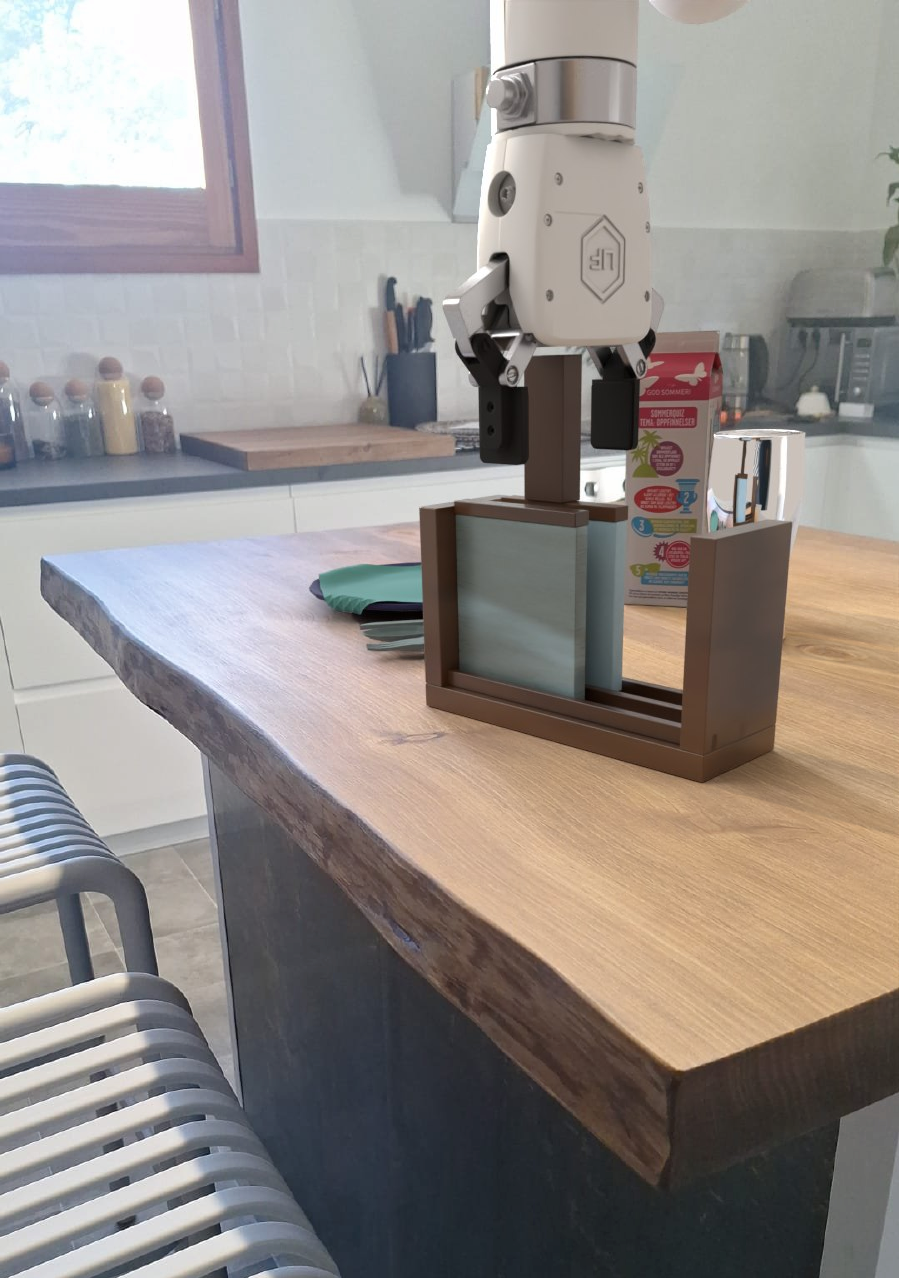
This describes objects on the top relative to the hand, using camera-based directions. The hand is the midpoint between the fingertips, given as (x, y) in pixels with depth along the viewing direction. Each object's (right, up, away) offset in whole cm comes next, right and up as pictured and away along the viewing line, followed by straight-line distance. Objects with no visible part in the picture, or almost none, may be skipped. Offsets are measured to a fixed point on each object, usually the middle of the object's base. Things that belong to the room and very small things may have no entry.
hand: (561, 455), depth 66 cm
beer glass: (+16, -8, +22) cm, 28 cm away
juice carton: (+13, -2, +36) cm, 38 cm away
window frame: (+2, -16, +2) cm, 16 cm away
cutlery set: (-8, -4, +32) cm, 34 cm away
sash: (0, -12, +5) cm, 13 cm away
